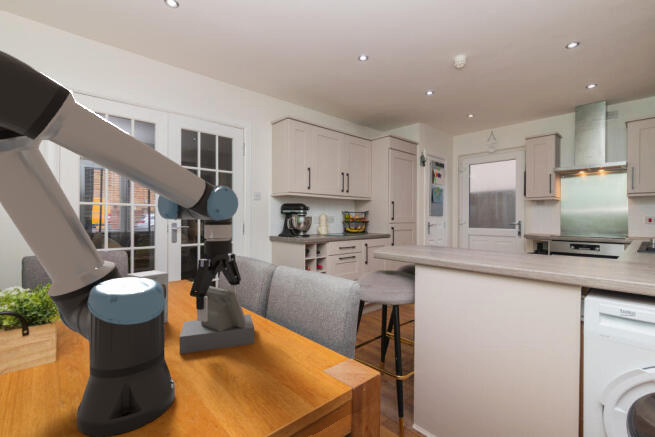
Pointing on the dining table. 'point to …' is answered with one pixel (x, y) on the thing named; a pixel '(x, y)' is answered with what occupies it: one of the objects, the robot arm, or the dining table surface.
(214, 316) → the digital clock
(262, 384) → the dining table surface
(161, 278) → the supplement box
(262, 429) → the dining table surface
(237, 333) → the charcoal block
